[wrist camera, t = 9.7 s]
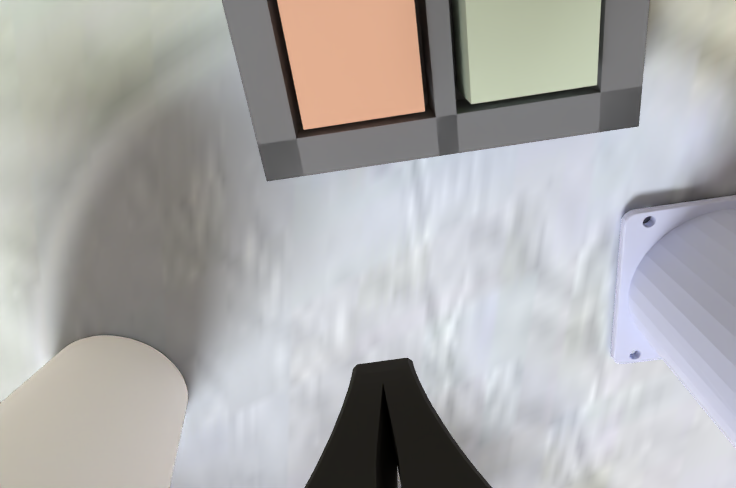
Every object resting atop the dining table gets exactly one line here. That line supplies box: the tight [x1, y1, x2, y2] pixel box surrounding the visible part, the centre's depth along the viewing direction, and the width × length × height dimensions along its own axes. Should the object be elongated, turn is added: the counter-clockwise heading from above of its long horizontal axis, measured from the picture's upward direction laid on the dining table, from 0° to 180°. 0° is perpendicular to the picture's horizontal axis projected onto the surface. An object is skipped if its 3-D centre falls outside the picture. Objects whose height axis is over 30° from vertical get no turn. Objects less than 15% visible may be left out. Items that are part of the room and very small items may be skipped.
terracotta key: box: [277, 0, 425, 130], centre depth 17 cm, size 4×4×2 cm
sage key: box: [452, 0, 601, 104], centre depth 17 cm, size 4×4×2 cm
